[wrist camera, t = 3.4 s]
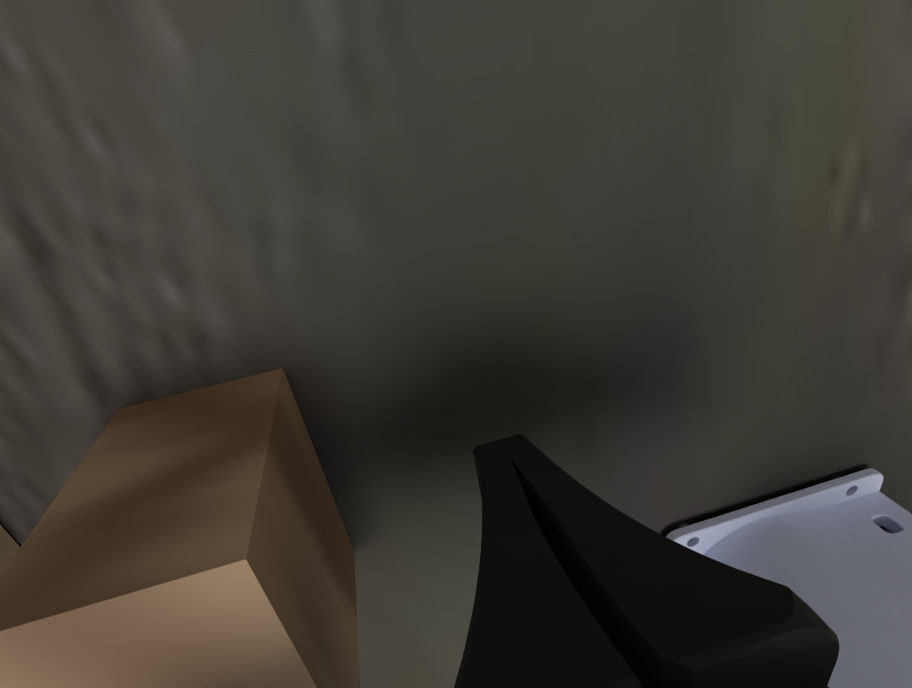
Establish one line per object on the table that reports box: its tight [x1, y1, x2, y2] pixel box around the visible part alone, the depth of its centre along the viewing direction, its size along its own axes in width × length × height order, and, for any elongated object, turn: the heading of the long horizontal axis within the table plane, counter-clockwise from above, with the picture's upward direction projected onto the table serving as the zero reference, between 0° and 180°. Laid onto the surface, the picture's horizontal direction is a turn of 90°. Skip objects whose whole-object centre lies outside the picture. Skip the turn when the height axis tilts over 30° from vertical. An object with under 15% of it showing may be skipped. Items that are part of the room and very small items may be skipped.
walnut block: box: [0, 368, 360, 688], centre depth 11 cm, size 4×7×6 cm, turn 9°
